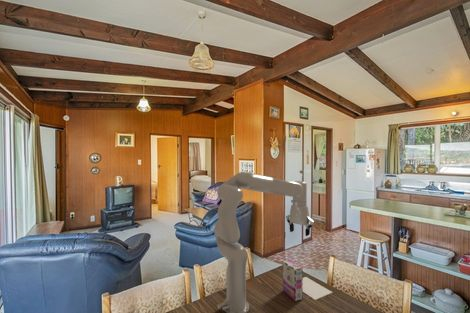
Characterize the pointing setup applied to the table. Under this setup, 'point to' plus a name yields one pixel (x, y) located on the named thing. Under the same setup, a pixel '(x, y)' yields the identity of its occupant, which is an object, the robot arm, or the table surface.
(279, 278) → the table surface
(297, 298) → the candy bar box
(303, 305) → the table surface
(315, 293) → the white mat
